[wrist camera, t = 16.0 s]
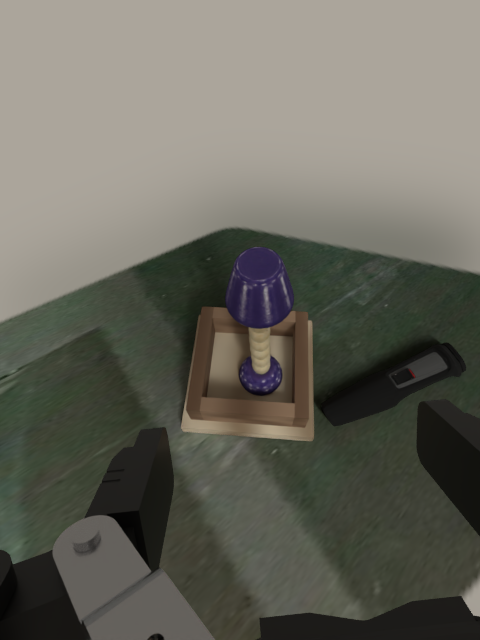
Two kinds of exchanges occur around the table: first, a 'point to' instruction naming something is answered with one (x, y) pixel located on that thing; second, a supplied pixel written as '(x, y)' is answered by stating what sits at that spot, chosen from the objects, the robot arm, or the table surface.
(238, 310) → the toy lamp
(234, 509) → the table surface
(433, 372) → the electric trimmer
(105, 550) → the robot arm
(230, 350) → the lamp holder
